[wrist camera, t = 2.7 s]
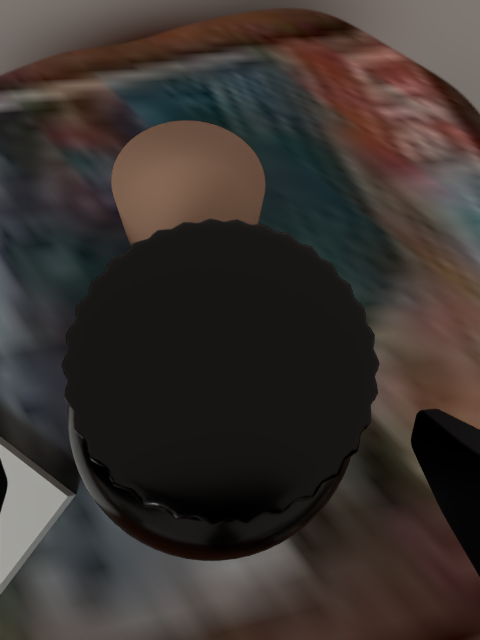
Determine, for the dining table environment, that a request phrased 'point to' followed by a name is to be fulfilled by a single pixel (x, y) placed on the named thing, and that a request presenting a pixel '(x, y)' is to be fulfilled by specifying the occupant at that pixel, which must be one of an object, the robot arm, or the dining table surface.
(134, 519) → the supplement bottle
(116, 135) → the dining table surface
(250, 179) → the tan rounded piece
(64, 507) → the pad
